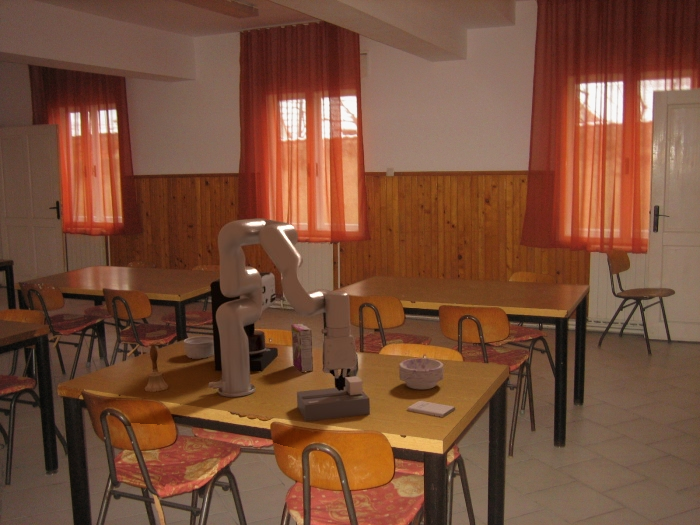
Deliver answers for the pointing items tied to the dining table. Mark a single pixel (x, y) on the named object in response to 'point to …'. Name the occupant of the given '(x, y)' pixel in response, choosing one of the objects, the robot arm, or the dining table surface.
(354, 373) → the handheld radio
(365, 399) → the switch panel
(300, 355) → the candy bar box
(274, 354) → the coffee maker
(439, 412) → the external hard drive
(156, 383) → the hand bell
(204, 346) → the ramekin
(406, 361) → the pale lavender bowl
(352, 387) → the knob
